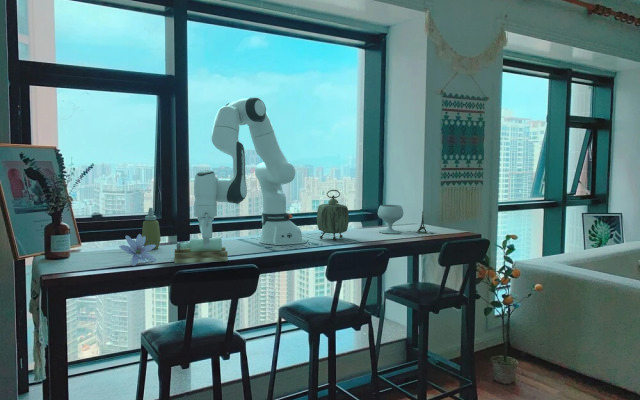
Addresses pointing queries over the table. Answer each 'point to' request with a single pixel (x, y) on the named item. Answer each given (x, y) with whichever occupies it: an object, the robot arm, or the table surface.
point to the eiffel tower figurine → (422, 228)
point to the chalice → (390, 216)
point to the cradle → (200, 256)
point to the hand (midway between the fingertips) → (206, 246)
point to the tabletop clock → (332, 217)
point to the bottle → (201, 245)
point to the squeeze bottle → (151, 230)
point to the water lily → (138, 249)
